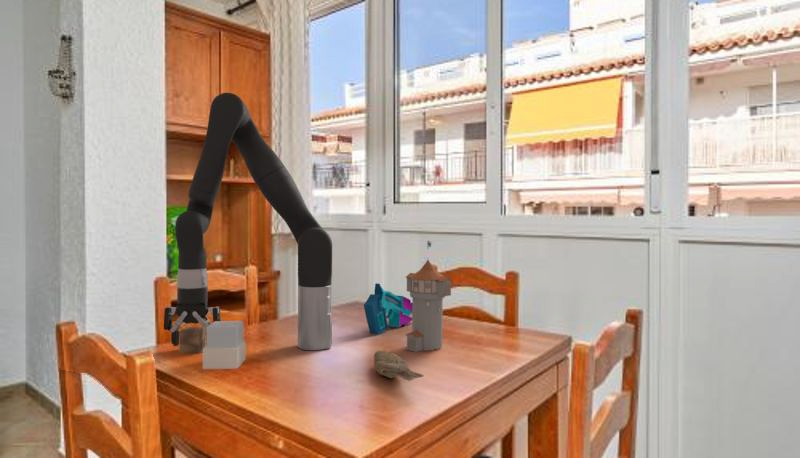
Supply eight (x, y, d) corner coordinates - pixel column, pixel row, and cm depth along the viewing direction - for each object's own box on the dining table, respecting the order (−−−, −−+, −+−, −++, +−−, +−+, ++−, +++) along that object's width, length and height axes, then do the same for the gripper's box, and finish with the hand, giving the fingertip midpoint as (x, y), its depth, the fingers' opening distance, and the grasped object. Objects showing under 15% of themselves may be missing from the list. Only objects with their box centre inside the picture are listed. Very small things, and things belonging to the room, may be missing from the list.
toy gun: (408, 346, 168) (418, 303, 173) (367, 330, 148) (379, 282, 153) (398, 344, 171) (407, 302, 175) (356, 328, 151) (368, 280, 155)
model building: (457, 347, 140) (459, 240, 139) (430, 356, 131) (432, 242, 130) (420, 339, 149) (421, 239, 148) (392, 346, 141) (393, 240, 140)
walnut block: (205, 348, 136) (205, 326, 136) (198, 353, 131) (198, 331, 131) (186, 348, 136) (186, 327, 136) (179, 353, 131) (179, 331, 131)
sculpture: (402, 401, 99) (403, 376, 99) (362, 366, 122) (362, 346, 122) (430, 396, 101) (431, 372, 101) (385, 363, 124) (385, 343, 124)
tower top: (243, 340, 126) (243, 320, 126) (236, 347, 119) (236, 327, 119) (215, 340, 126) (214, 321, 126) (206, 348, 119) (206, 327, 119)
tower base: (245, 359, 127) (245, 340, 127) (236, 369, 119) (236, 348, 119) (213, 360, 126) (213, 340, 126) (202, 369, 118) (202, 348, 118)
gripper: (223, 283, 137) (223, 341, 138) (171, 283, 137) (171, 342, 137) (215, 287, 130) (215, 349, 130) (159, 287, 129) (159, 349, 130)
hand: (192, 345), depth 134 cm, fingers open, 8 cm apart
